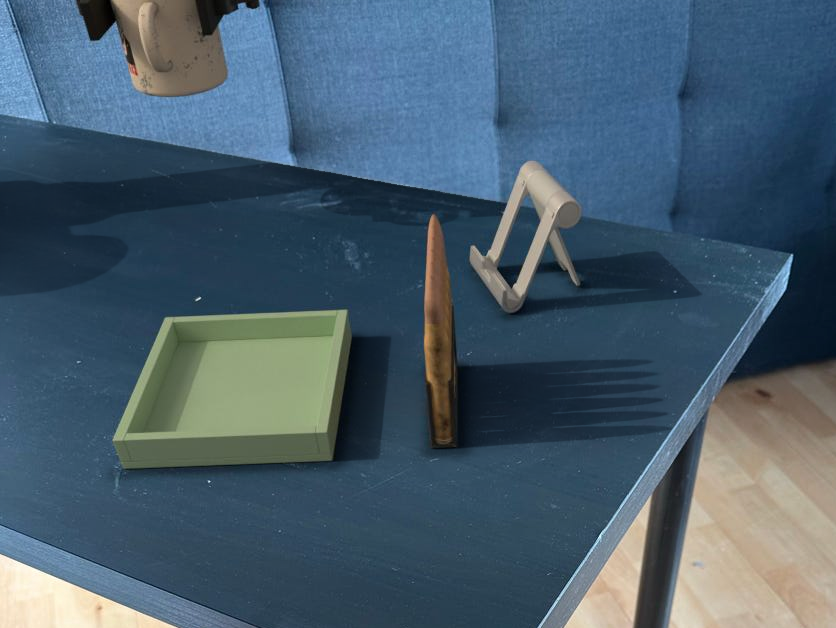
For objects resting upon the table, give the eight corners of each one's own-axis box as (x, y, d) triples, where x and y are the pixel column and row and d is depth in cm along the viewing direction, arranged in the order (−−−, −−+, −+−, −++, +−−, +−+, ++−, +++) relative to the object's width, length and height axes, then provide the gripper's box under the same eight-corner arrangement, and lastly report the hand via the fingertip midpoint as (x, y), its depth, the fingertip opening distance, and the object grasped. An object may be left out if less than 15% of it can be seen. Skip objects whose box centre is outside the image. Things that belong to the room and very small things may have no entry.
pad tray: (123, 469, 65) (111, 440, 63) (173, 344, 76) (165, 316, 74) (332, 461, 64) (327, 431, 63) (352, 337, 76) (347, 309, 74)
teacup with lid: (143, 68, 89) (103, -83, 81) (238, 64, 89) (208, -88, 81) (113, 113, 81) (65, -50, 73) (218, 108, 81) (182, -56, 72)
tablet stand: (470, 270, 83) (465, 171, 77) (553, 254, 84) (555, 156, 78) (502, 315, 77) (499, 213, 71) (590, 297, 79) (595, 196, 72)
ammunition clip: (433, 366, 72) (420, 209, 63) (457, 365, 72) (447, 207, 63) (430, 449, 65) (415, 284, 56) (457, 448, 65) (446, 282, 56)
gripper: (311, -6, 95) (284, 64, 80) (101, 4, 95) (34, 76, 80) (298, -99, 90) (266, -42, 74) (75, -88, 90) (-2, -29, 75)
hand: (146, 19), depth 77 cm, fingers closed on teacup with lid, 9 cm apart
